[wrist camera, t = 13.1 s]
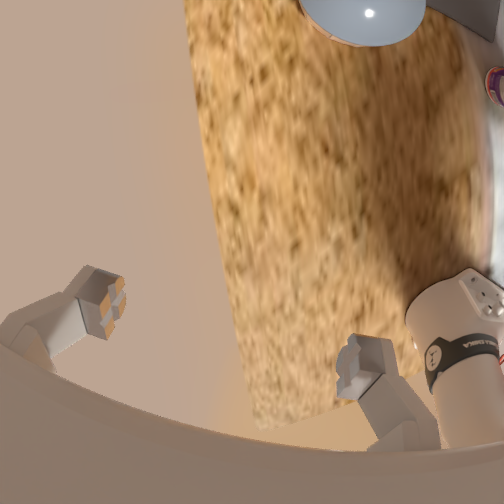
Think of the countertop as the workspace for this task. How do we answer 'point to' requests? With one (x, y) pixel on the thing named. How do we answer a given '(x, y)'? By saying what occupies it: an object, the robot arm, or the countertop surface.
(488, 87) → the pill bottle
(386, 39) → the lid
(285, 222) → the countertop surface
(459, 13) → the mat
